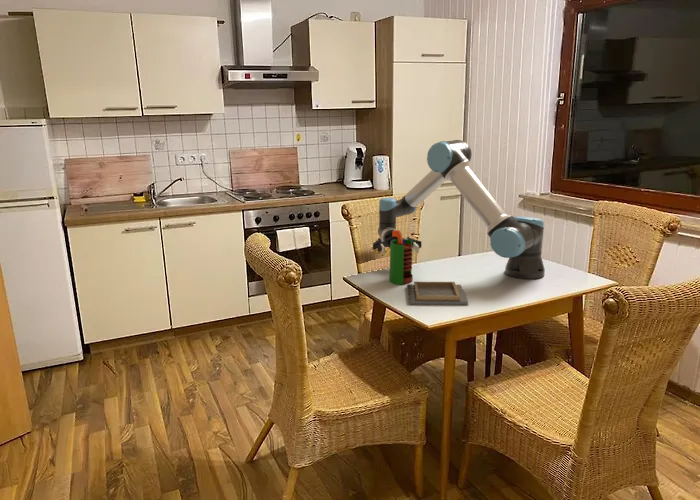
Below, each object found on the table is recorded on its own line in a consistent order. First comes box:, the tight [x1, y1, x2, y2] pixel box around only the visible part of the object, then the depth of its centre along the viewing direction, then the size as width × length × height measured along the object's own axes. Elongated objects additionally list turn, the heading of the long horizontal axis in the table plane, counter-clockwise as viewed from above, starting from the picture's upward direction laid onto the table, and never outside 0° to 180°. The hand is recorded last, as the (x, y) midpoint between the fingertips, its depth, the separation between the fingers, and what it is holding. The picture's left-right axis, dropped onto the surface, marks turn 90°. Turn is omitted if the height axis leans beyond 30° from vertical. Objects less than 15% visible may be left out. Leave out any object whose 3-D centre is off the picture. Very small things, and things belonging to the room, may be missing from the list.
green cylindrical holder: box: [389, 229, 414, 286], centre depth 204 cm, size 10×9×20 cm
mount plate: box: [406, 281, 469, 306], centre depth 189 cm, size 20×18×3 cm
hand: (401, 250), depth 209 cm, fingers open, 13 cm apart
